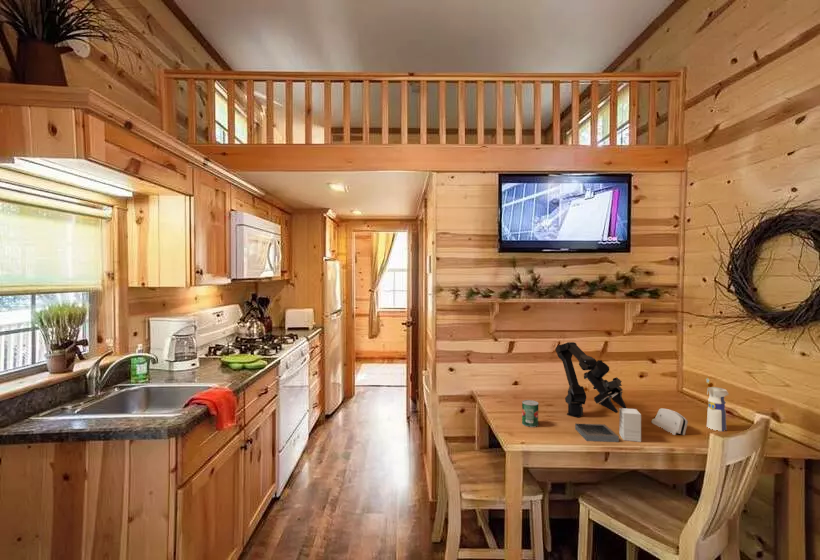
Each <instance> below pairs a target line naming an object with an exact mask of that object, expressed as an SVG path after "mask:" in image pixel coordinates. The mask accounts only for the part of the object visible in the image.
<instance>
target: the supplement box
mask: <svg viewBox="0 0 820 560" xmlns="http://www.w3.org/2000/svg"><path fill="white" fill-rule="evenodd" d="M618 413H619V414H618V415H619V418H618V419H619V423H618V424H619V433H618V434H619V435H620V437H621V439H622V440H623V441H628V442H629V441H630V442H638V443H641V442H642V414H641V413H640V412H639V411H638V409H637V408H622V407H619V410H618Z"/></svg>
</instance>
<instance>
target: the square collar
mask: <svg viewBox="0 0 820 560" xmlns="http://www.w3.org/2000/svg"><path fill="white" fill-rule="evenodd" d="M574 430H575V431H577V432H578V434H579V435H580V436H581V437H582V438H583V439H584V440H585V441H586V442H606V443H611V442H612V443H619V441H620V440H619V435H618V434H617V433H616V432H614V431H613V430H612V429H611V428H609V427H608V426H607V425H606V424H604V423H603V424H601V423H575V425H574Z"/></svg>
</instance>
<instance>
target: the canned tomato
mask: <svg viewBox="0 0 820 560" xmlns="http://www.w3.org/2000/svg"><path fill="white" fill-rule="evenodd" d="M539 404H540V403H539V402H538V401H535V400H530V399H525V400H522V401H521V424H522V425H523V426H524V425H525V426H524V427H527V426H530V427H529V428H536V426H537V427H538V426H539Z"/></svg>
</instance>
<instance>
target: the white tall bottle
mask: <svg viewBox="0 0 820 560" xmlns="http://www.w3.org/2000/svg"><path fill="white" fill-rule="evenodd" d="M705 381H706V382H705V383H706V384H708V385H710V382H711V380H710V378H709V377H707V378H705ZM708 394H709V396H708ZM729 394H730V393H729V392H728V390H727V389H725V388H722V387H718V386H711V387H707V391H706V395H707V396H708V398H707V401H708V402H707V406H708V407H707V409H706V411H707V414H706V415H707V417H706V428H707V427H708V428H707V429H709V428H710V430H712V429H713V430H712V431H716V430H718V431H717V432H725V431H724V430H726V431H727V411H726V403H727V402H726V400H725V397H726V396H727V397H728V396H729Z"/></svg>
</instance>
